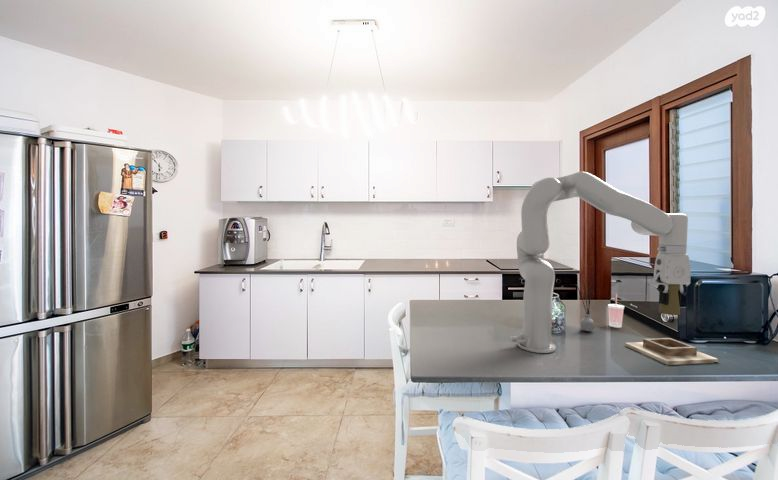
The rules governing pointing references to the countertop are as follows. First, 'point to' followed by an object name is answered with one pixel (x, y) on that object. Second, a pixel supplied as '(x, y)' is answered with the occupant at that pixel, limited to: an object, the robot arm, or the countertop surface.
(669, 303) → the cork
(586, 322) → the reed diffuser
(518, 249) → the robot arm
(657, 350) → the socket board
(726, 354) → the countertop surface
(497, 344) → the countertop surface
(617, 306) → the beverage cup
